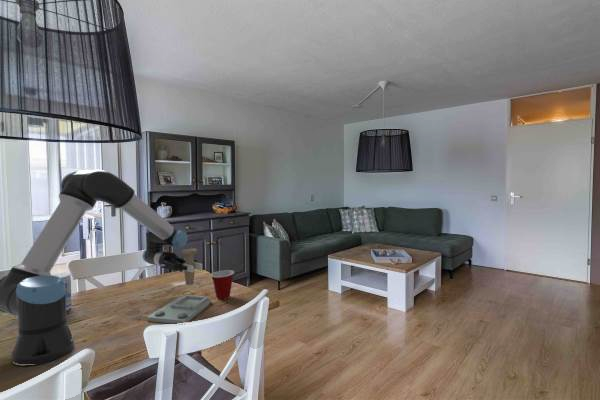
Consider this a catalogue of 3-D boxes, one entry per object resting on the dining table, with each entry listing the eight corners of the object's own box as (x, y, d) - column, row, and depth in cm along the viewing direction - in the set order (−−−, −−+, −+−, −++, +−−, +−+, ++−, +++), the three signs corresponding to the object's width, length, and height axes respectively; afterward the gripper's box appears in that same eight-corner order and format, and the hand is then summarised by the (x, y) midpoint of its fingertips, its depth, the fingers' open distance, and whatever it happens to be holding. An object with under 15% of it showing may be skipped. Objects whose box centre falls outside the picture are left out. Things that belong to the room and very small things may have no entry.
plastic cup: (217, 292, 154) (217, 268, 153) (238, 294, 152) (237, 270, 151) (206, 301, 143) (205, 275, 143) (228, 303, 141) (228, 276, 140)
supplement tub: (61, 315, 127) (59, 279, 126) (36, 315, 127) (35, 279, 126) (77, 305, 137) (75, 272, 136) (54, 305, 137) (53, 272, 136)
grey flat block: (184, 324, 119) (184, 317, 119) (146, 320, 123) (146, 313, 122) (211, 302, 141) (211, 296, 141) (179, 300, 144) (179, 294, 144)
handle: (199, 283, 137) (199, 249, 136) (186, 287, 132) (185, 252, 131) (193, 281, 140) (192, 247, 139) (179, 284, 135) (179, 250, 134)
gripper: (182, 264, 153) (213, 272, 139) (149, 271, 140) (179, 281, 126) (182, 248, 153) (213, 255, 139) (148, 255, 139) (179, 263, 125)
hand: (197, 268), depth 132 cm, fingers closed on handle, 3 cm apart
